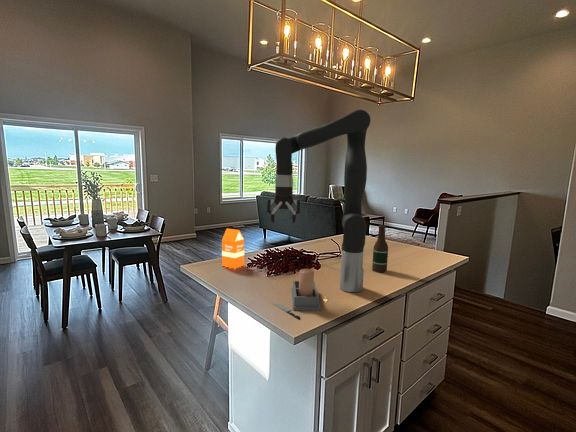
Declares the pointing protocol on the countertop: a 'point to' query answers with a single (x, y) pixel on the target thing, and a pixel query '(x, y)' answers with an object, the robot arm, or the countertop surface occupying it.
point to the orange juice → (232, 249)
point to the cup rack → (304, 299)
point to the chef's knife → (286, 309)
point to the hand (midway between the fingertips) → (283, 222)
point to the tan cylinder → (306, 282)
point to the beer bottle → (380, 252)
